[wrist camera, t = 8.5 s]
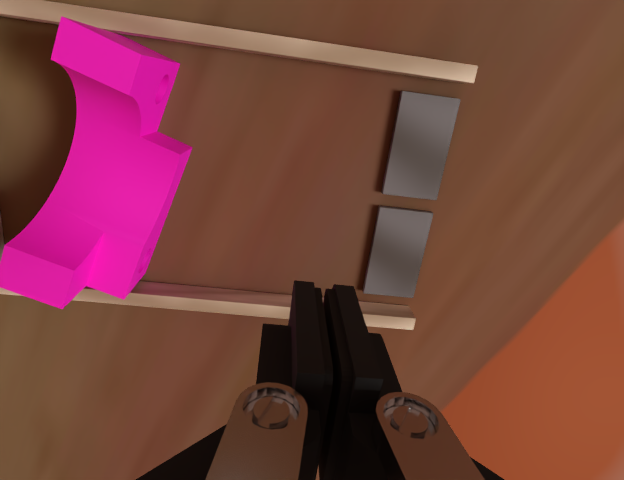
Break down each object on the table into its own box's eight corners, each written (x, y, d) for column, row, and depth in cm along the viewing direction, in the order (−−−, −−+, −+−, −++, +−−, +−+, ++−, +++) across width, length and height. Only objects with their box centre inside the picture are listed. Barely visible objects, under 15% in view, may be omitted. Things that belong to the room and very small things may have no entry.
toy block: (146, 271, 31) (105, 324, 24) (63, 239, 30) (-6, 285, 23) (217, 81, 27) (191, 79, 20) (123, 35, 26) (61, 16, 19)
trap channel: (-55, -11, 24) (-118, -29, 21) (465, 67, 27) (492, 63, 24) (-13, 278, 31) (-55, 304, 27) (406, 316, 34) (420, 344, 30)
